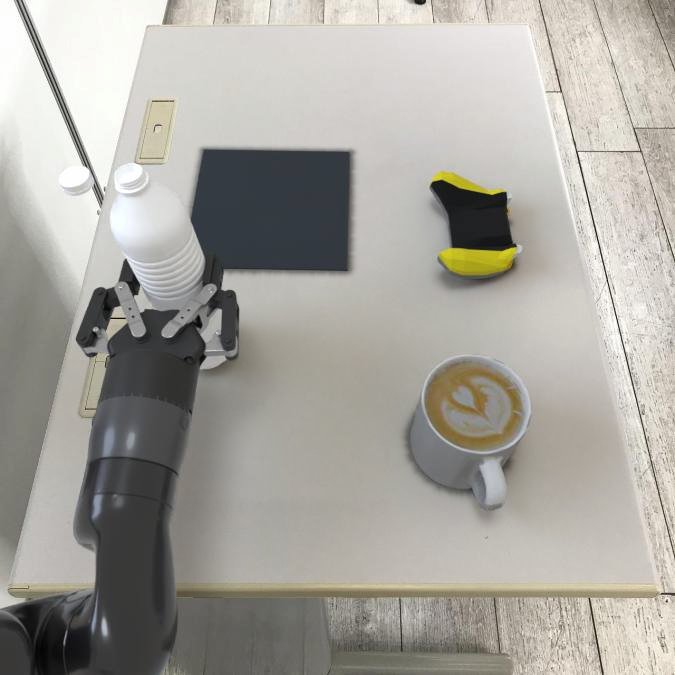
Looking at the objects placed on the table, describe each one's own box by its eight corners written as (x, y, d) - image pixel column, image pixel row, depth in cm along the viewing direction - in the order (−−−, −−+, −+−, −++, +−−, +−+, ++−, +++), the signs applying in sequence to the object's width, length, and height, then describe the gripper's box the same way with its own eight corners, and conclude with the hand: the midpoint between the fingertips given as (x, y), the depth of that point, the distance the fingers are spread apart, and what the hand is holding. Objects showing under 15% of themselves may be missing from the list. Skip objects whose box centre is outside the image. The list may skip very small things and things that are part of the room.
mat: (182, 267, 77) (181, 266, 77) (203, 150, 88) (203, 149, 87) (346, 270, 77) (347, 269, 77) (349, 152, 87) (349, 151, 87)
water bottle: (237, 319, 72) (173, 140, 51) (234, 369, 68) (163, 197, 48) (161, 325, 72) (66, 149, 52) (154, 374, 69) (49, 207, 48)
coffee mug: (407, 398, 68) (417, 353, 60) (499, 398, 68) (522, 353, 60) (415, 524, 62) (428, 494, 53) (518, 523, 62) (547, 493, 53)
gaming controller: (434, 291, 76) (518, 290, 76) (441, 263, 71) (530, 262, 71) (424, 196, 83) (501, 195, 83) (429, 165, 78) (511, 164, 78)
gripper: (72, 434, 55) (113, 278, 64) (238, 439, 55) (256, 282, 64) (37, 397, 49) (87, 229, 57) (224, 402, 49) (247, 232, 57)
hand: (176, 257), depth 60 cm, fingers closed on water bottle, 6 cm apart
